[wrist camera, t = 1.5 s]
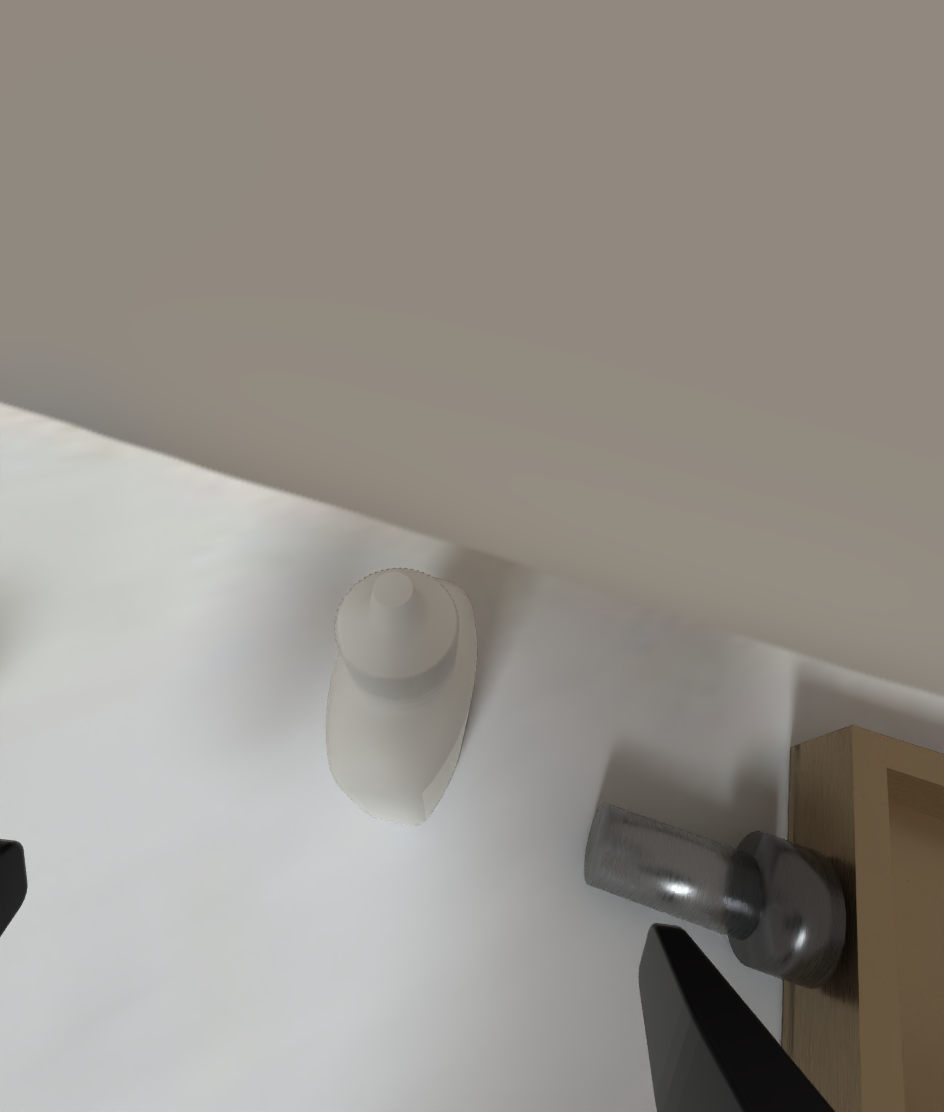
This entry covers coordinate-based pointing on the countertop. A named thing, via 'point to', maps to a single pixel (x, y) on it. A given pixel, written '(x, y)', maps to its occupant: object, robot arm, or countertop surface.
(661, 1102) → the robot arm
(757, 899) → the input shaft
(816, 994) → the square brown wooden tray
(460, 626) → the white bottle
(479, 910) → the countertop surface
